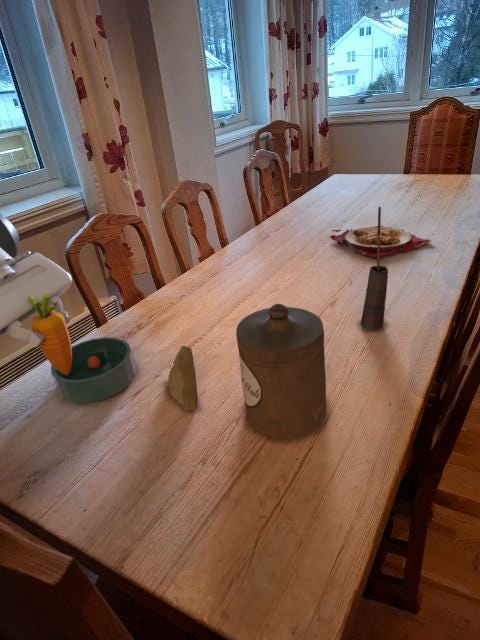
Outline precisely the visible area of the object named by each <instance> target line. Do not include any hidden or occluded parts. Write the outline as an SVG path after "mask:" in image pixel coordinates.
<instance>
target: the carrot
mask: <svg viewBox="0 0 480 640" xmlns="http://www.w3.org/2000/svg"><path fill="white" fill-rule="evenodd" d="M49 296H50V294H44V295H43V297H42V304H41V307H40V306H39V303H38V301H37V300H35V298H34V297H33V296H32V295H31V296H29V297H28V299H29V300H30V301H31V302H32V303H33V305H34V307H35V309H36V310H37V312H36V313H37V314H38V315H36V316H35V317H34V318H33V319H32V321H31V329H32V330H31V331H33V332H34V331H36V330H37V329H38V330H39V331H40V332H41V334H44V335H45V337H46V338H45V340H44V341H43V342H42V343H41V344H40V345H39V346H38V347H39V348H40V350H41V352H42V353H43V355H44V356H45V357H46V359H47V361H48V362H49V363H50V365H51V366H52V365H53V366H54V367H55V368H56V369H57V370H58V371H60V372H61V373H62V374H65V375H68V374H69V373H70V370H71V364H72V348H71V347H72V342H71V336H70V332H69V329H68V324H66V321H65V318H64V316H63V314H62V313H59V312H55V311H54V310H53V308H54V305H51V306H49V308H48V307H47V306H48V302H49ZM41 308H42V309H41Z"/></svg>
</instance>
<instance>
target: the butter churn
mask: <svg viewBox="0 0 480 640" xmlns="http://www.w3.org/2000/svg"><path fill="white" fill-rule="evenodd" d="M381 217H382V207H381V206H378V209H377V227H378V248H377V249H378V250H377V257H376V265H371V266H370V268H369V273H368V277H367V278H368V279H367V284H366V285H367V286H366V289H365V298H364V303H363V304H364V305H363V307H362V308H363V309H362V313H361V320H360V325H361V326H362V328H363V329H365V330H368V331H378V330H380V329H382V327H383V326H384V322H385V320H384V319H385V311H386V299H387V292H388V291H387V290H388V289H387V288H388V279H389V269H388V267H387V266H385V265H380V258H381V256H380V226H381V223H382V222H381V220H382V219H381Z"/></svg>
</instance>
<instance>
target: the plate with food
mask: <svg viewBox="0 0 480 640" xmlns="http://www.w3.org/2000/svg"><path fill="white" fill-rule="evenodd" d="M331 231H332V232H335V233H340V232H341V233H340V234H337V235H336V234H333V235H330V236H329V238H330V239H331V240H332V241H336V242H337V243H338V244H339V245H341V244H342V245H345V246H348V248H351V249H352V246H351V245H354V246H356V248H355V251H357V252H358V253H362V255H364V256H367V257H372V258H373V257H374V258H377V250H378V249H377V248H378V225H377V226H370V227H361V228H357V229H352V228H351V229H350V230H349V228H347V229H346V230H345V231H344V232H342V230H341V229H333V230H331ZM432 241H433V240H432V239H428V238H426V239H423V238H419V237H417V236H416V235H415V234H412V233H411V232H407V231H405V230H404V229H403V228H402V229H401V228H396V227H392V226H382V225H380V257H383V256H385V255H392V253H393V254H396V253H399V252H400V253H401V252H403V253H405V252H409V251H413V250H416V249H418V247H422V246H424V245H425V244H428V243H430V242H432ZM350 244H351V245H350Z"/></svg>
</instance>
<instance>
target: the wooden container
mask: <svg viewBox="0 0 480 640" xmlns="http://www.w3.org/2000/svg"><path fill="white" fill-rule="evenodd" d="M235 332H236V333H235V335H236V345H237V350H238V358H239V367H240V375H241V378H240V379H241V385H242V392H243V399H244V405H245V406H244V407H245V412H246V417H247V420H248V422H249V424H250V425H251V426H252V427H253V429H255V430H256V431H258V432H259V433H261V434H263V435H265V436H268V437H270V438H271V437H272V438H277V439H293V438H299V437H303V436H305V435H308V434H309V433H311V432H313V431H315V430H316V429H318V428H319V427H320V426H321V424H322V423H323V422H324V420H325V418H326V414H327V378H326V375H327V374H326V359H325V357H326V356H325V329H324V323H323V321H322V319H321V318H320V317H319V316H318V315H317V314H316V313H314V312H312V311H310V310H307V309H304V308H300V307H292V306H287V305H285V304H283V303H275V304H273V305H272V306H270V307H268V308H263V309H260V310H257V311H254V312H252V313H250V314H248V315H246V316H244V318H242V319H241V320H240V321H239V323H238V324H237V326H236V329H235Z"/></svg>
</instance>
